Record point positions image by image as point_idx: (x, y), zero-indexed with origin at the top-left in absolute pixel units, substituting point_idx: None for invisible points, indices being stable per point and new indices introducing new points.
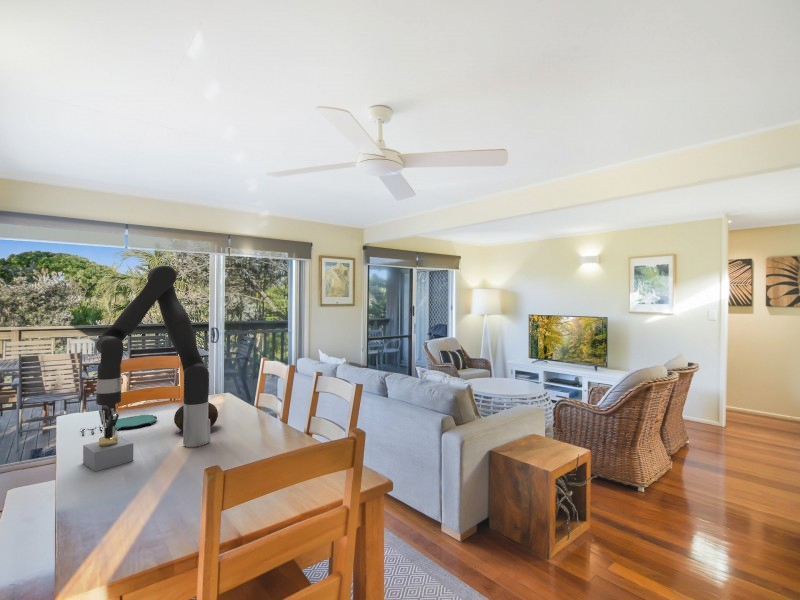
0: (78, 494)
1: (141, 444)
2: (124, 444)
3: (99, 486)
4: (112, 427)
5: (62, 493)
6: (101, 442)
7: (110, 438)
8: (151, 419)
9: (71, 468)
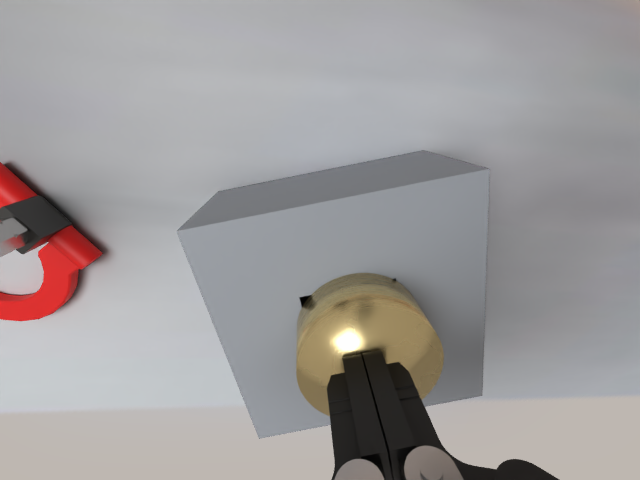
0: (629, 363)
1: (56, 26)
2: (461, 235)
3: (627, 309)
4: (412, 441)
5: (570, 397)
6: None
7: (418, 360)
8: None
9: None
